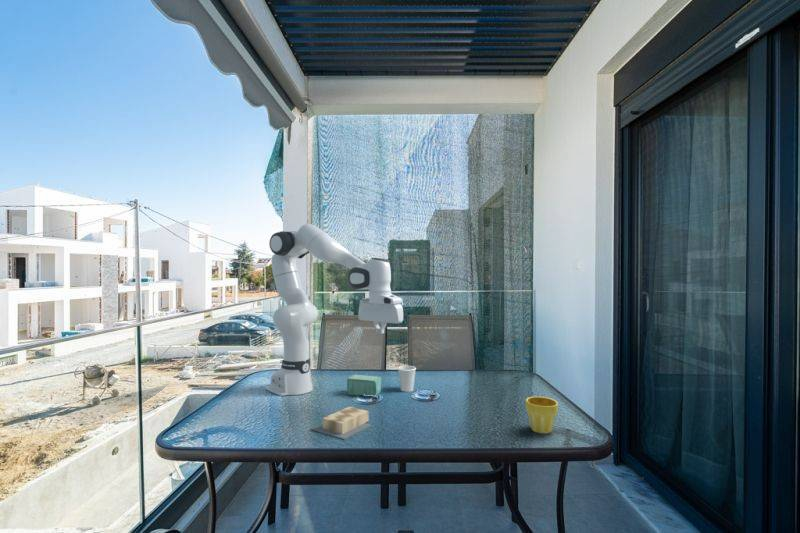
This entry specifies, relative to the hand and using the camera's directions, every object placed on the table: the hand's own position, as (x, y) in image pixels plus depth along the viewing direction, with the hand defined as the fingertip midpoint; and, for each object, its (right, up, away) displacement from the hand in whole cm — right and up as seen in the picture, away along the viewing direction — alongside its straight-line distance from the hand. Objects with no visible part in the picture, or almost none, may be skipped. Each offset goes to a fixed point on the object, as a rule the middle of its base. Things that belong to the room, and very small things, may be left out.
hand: (380, 333), depth 164 cm
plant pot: (+56, -29, -24) cm, 68 cm away
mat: (-12, -29, -22) cm, 38 cm away
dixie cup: (+11, -29, +22) cm, 38 cm away
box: (-8, -30, +16) cm, 34 cm away
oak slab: (-7, -27, -14) cm, 31 cm away
